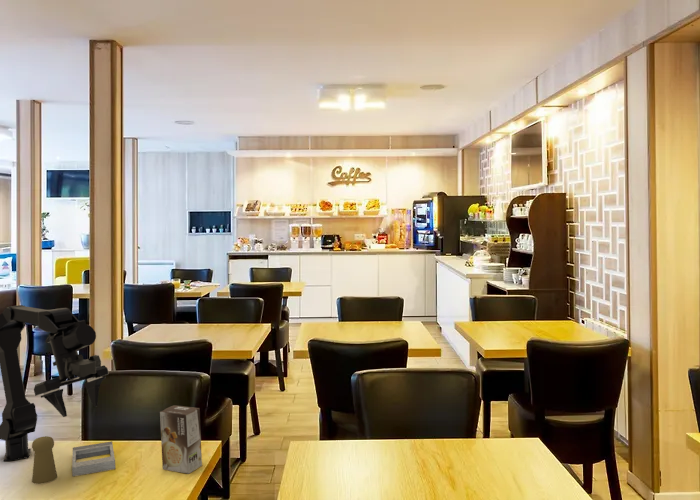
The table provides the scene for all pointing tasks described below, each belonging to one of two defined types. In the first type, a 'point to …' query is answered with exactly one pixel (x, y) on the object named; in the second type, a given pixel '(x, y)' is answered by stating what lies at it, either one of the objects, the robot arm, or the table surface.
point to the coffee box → (181, 438)
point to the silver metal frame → (95, 464)
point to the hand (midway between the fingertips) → (80, 411)
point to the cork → (43, 461)
